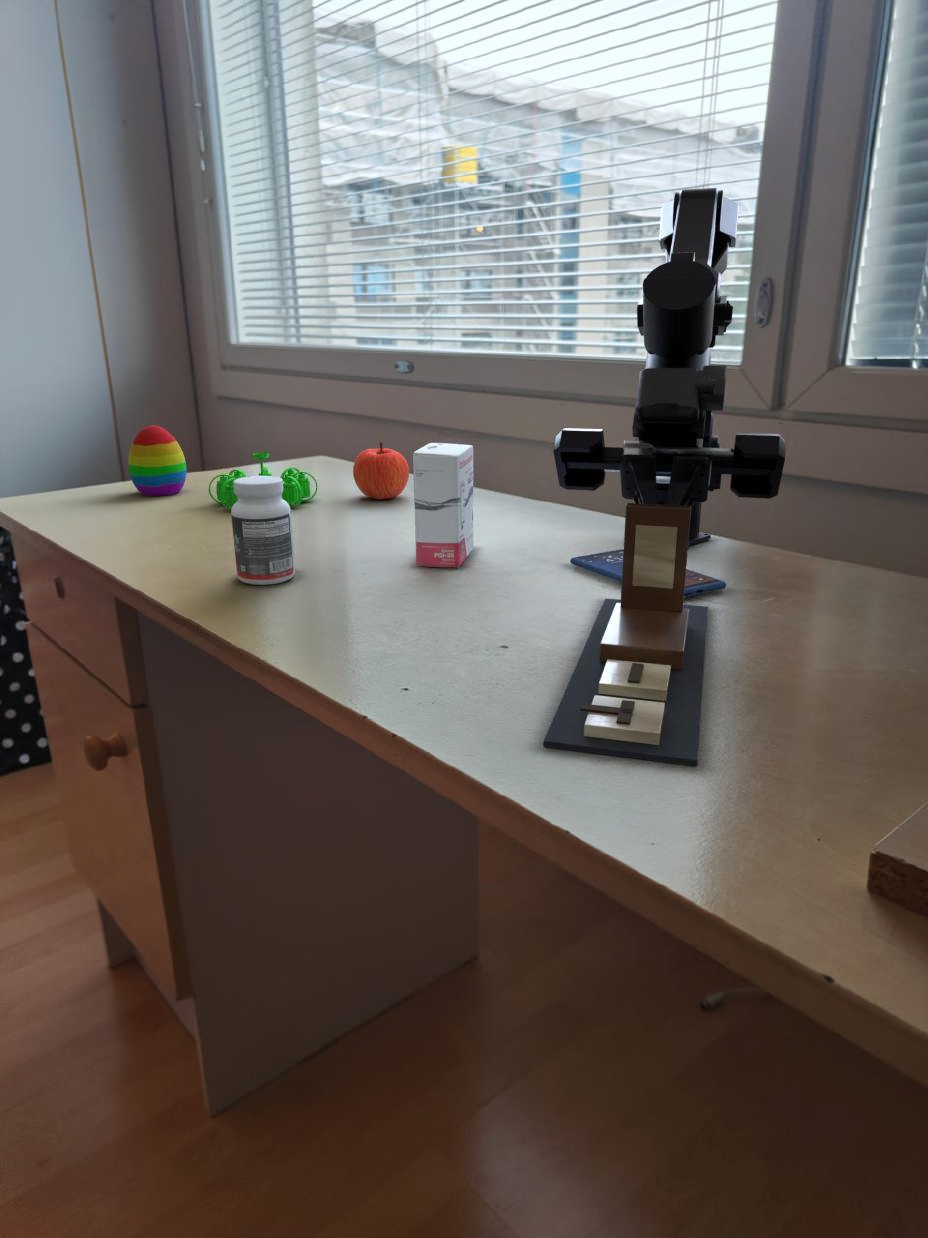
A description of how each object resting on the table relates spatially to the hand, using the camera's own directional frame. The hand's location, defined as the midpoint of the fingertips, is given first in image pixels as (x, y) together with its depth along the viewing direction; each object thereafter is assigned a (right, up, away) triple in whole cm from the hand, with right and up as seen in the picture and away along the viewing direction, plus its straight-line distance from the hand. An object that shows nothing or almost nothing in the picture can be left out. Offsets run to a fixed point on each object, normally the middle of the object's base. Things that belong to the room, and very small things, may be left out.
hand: (656, 547), depth 70 cm
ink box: (-18, +1, +24) cm, 29 cm away
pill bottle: (-36, -2, +17) cm, 39 cm away
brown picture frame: (-1, -8, -3) cm, 8 cm away
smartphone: (+2, -2, +15) cm, 16 cm away
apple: (-28, +12, +55) cm, 63 cm away
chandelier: (-44, +10, +52) cm, 69 cm away
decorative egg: (-62, +13, +60) cm, 87 cm away
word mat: (-3, -9, -6) cm, 11 cm away
